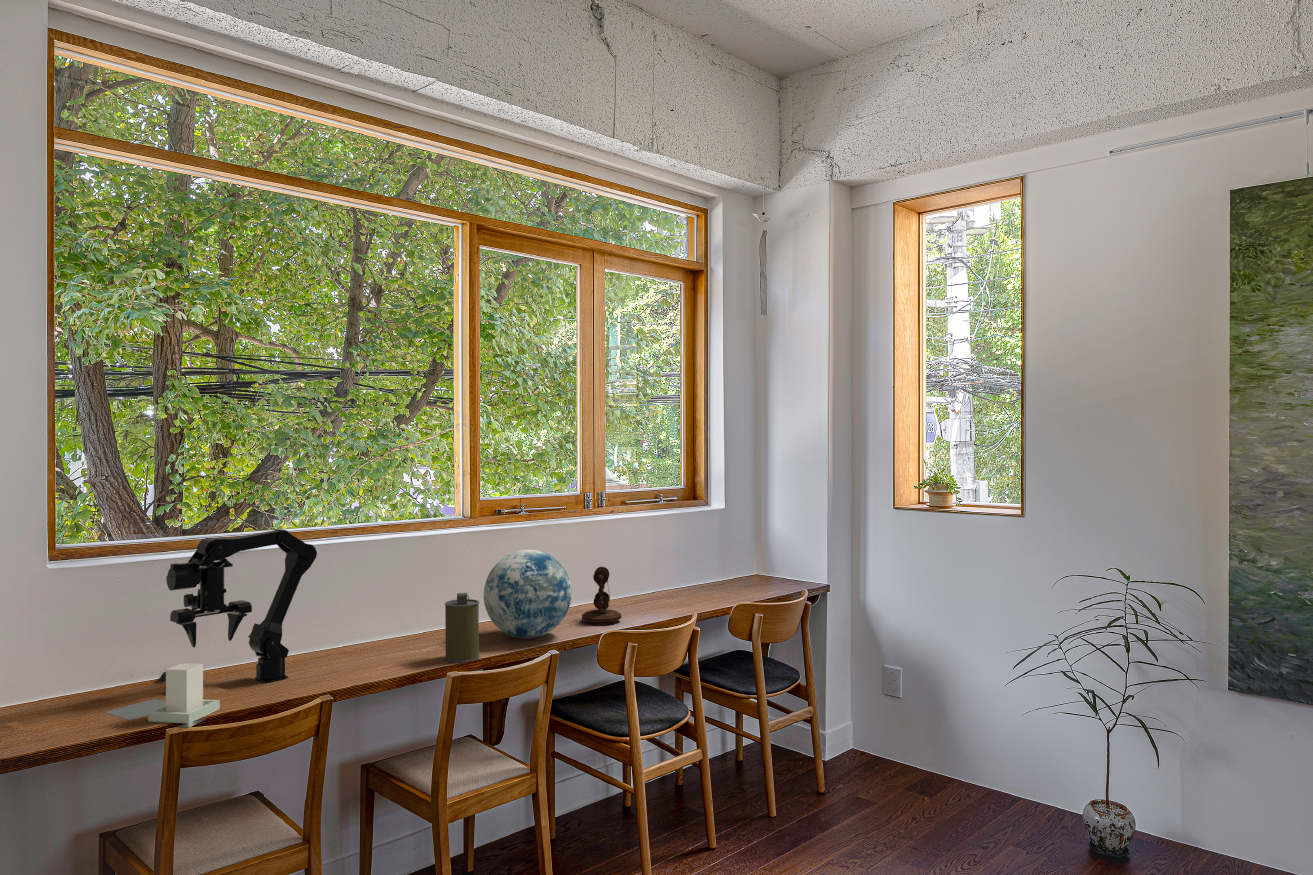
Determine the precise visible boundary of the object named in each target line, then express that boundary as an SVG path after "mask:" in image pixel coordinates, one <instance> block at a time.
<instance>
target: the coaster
mask: <svg viewBox="0 0 1313 875" xmlns="http://www.w3.org/2000/svg"><path fill="white" fill-rule="evenodd" d="M164 705H166V700H161V699H157V698H153V699H149V700H144V701H141V702H137V703H134V704H133V703H132V704H129V705H125V706H122V707H118V708H113V709H110V710H107V711H104V713H106V714H109V715H111V716H115V717H118V718H121V719H123V720H127V721H132V720H136V719H139V718H143V717H148V712H150V711H153V710H155V709H157V708H160V707H162V706H164Z"/></svg>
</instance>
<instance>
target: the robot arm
mask: <svg viewBox="0 0 1313 875" xmlns="http://www.w3.org/2000/svg"><path fill="white" fill-rule="evenodd" d="M275 545H277V547H278V548H279V549H280V550H281V551H282V552H284V553H285V558H284V573H283V575H282V577H281V579H280V583H279V585H278V588H277V590H276V592H275V594H274V597H273V599H272V601H271V604H270V605H269V609H268V611H267V614H266V615H265V618H264V620H262V621H261V623H255V622H254V624H253V626H252V630H251V632H250V634H249V635H248V636H247V638H248V639H249V641H248V645H249V648H250V649H251V650H252V651H253V652H254V654H255V657H257V663H256V664H255V665H256V666H255V667H256V671H255V672H256V674H255V675H256V676H255V677H254V680H257V681H260V682H262V683H265V684H266V683H267V684H268V683H272V682H276V681H279V680H280V681H281V680H284V679H288V678H289V675H286V658H287V657H288V656H289V655H288V654H289V652H290V650H289V648H287V647H286V646H285V645H283V644H282V643H281V642H282V638H283V622H284V620H285V617H286V615H287V613H288V611H289V608H290V605H291V603H292V600H293V598H294V595H295V593H296V591H297V588H298V586H299V583H300V581H301V579H302V577H303V575H304V574H306V572H307V571H308V570H309V569H311V567H312V565H313V563H314V562H315V560H316V558H317V556H318V551H317V549H316V547H315V546H314V545H313V544H310V543H305V542H304V541H303V540H301V539H300V538H298V537H296V536H294V535H293V534H291V533H290V532H289V531H288V530H286V529H279V528H275V529H273V530H269V531H264V532H258V533H253V534H247V535H241V536H236V537H204V538H203V539H201V540H200V541H199V543H197V546H196V550H195V551H194V553H193V554H192V555H191V557H190V558H189V559H188V560H187V562H183V563H171V564H169V566H170V568H169V569H168V571H167V574H166V576H165V577H166V585H167V588H168V590H169V591H178V590H187V589H192V588H193V589H195V588H196V587H198V586H197V585H199V588H198V589H197V595H194V594H193V593H187V594H183V606H184V607H185V608H180V609H179V608H178V609H173V610H172V611H171V613H170V614H169V618H170V619H169V620H170V622H173V623H174V624H176V625H179V626H182V628H183V630H184V631H185V633H186V635H187V638H188V640H189V642H190V644H191V647H192V648H196V645H197V621H196V622H195V619H196V618H200V617H207V616H214V615H220V614H226V616H227V618H228V626H227V628H228V629H227V640H228V641H229V642H230V641H232V640H233V638H234V636H235V634H236V632H237V630H238V628H239V626H240V624H241V623H242V621H243V618H245V617H247V616H248V614H249V613H252V612H253V605H252V603H251V602H250V601H247V600H243V599H241V600H233V601H229V602H228V604H227V603H225V594H226V593H227V588H225V568H231V567H234V564H233V563H232V562H230V561H229V560H228V559H227V558H229V557H231V556H234V555H235V554H238V553H239V552H240V553H241V552H244V551H249V550H254V549H255V550H256V549H259V548H265V547H270V546H275ZM190 607H191V608H190Z"/></svg>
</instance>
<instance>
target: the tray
mask: <svg viewBox="0 0 1313 875" xmlns="http://www.w3.org/2000/svg"><path fill="white" fill-rule="evenodd" d="M220 701H221V700H220V699H204V698H203V707H200V708H198V709H196V710H194V711H192V712H189V713H178V712H166V705H164V706H162V707H160V708H157V709H155V710H153V711H150V712H148V716H147V719H148V720H147V721H148V722H153V723H154V722H155V723H168V724H169V723H173V724H174V723H175V724H181V725H176V728H187V729H188V728H189V729H190V728H191V727H193V726H195V725H197V724H199V723H202V722H203V721H205V720H207V719H206V718H207V717H205V716H209V714H212V713H214V712H216V711H218V710H220V709H221V708H220V707H221V705H220V704H221V703H220ZM203 717H205V718H203Z"/></svg>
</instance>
